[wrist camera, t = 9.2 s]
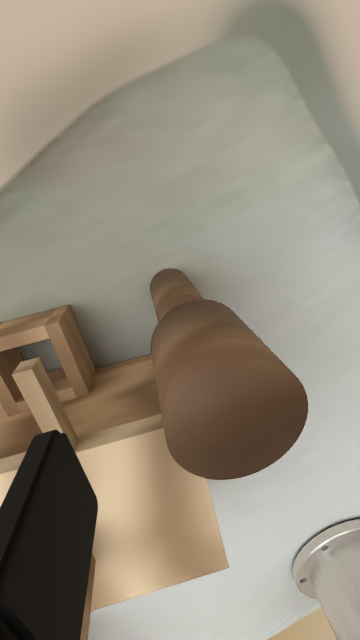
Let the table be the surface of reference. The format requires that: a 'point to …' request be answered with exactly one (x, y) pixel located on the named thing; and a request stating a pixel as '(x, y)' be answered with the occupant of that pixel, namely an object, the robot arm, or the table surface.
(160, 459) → the lid
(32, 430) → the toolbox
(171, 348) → the wooden bottle
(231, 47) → the table surface
